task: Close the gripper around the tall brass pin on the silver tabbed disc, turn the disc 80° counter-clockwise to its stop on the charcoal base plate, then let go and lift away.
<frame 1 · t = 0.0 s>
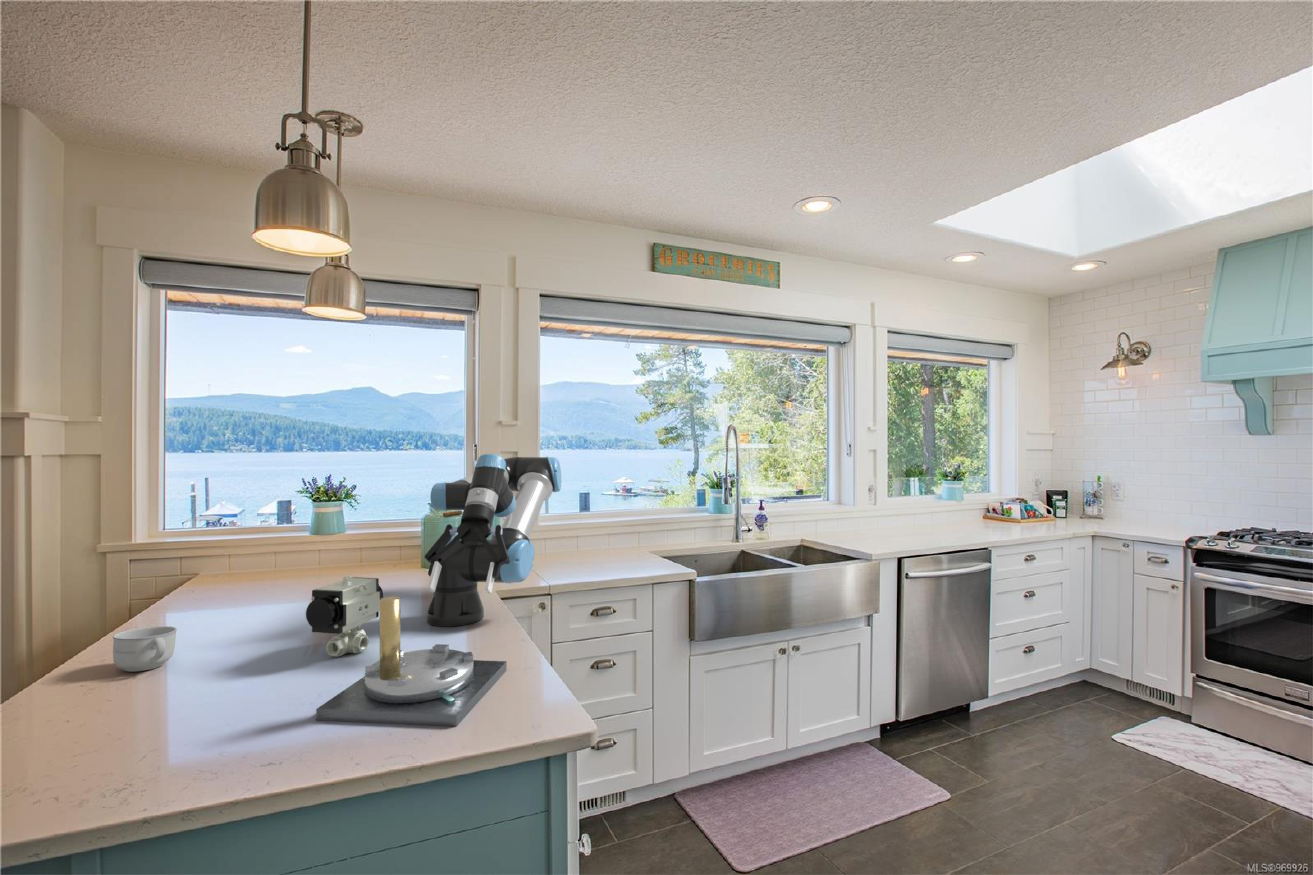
hand: (459, 590, 142), 15 cm above the counter, tool tilted 35°, fingers open, 13 cm apart
base plate: (420, 692, 122), on the counter
silver tabbed disc: (420, 636, 122), point 11 cm above the counter, hinge at 0.0°
teacup: (146, 669, 135), on the counter
ball valve: (349, 652, 145), on the counter
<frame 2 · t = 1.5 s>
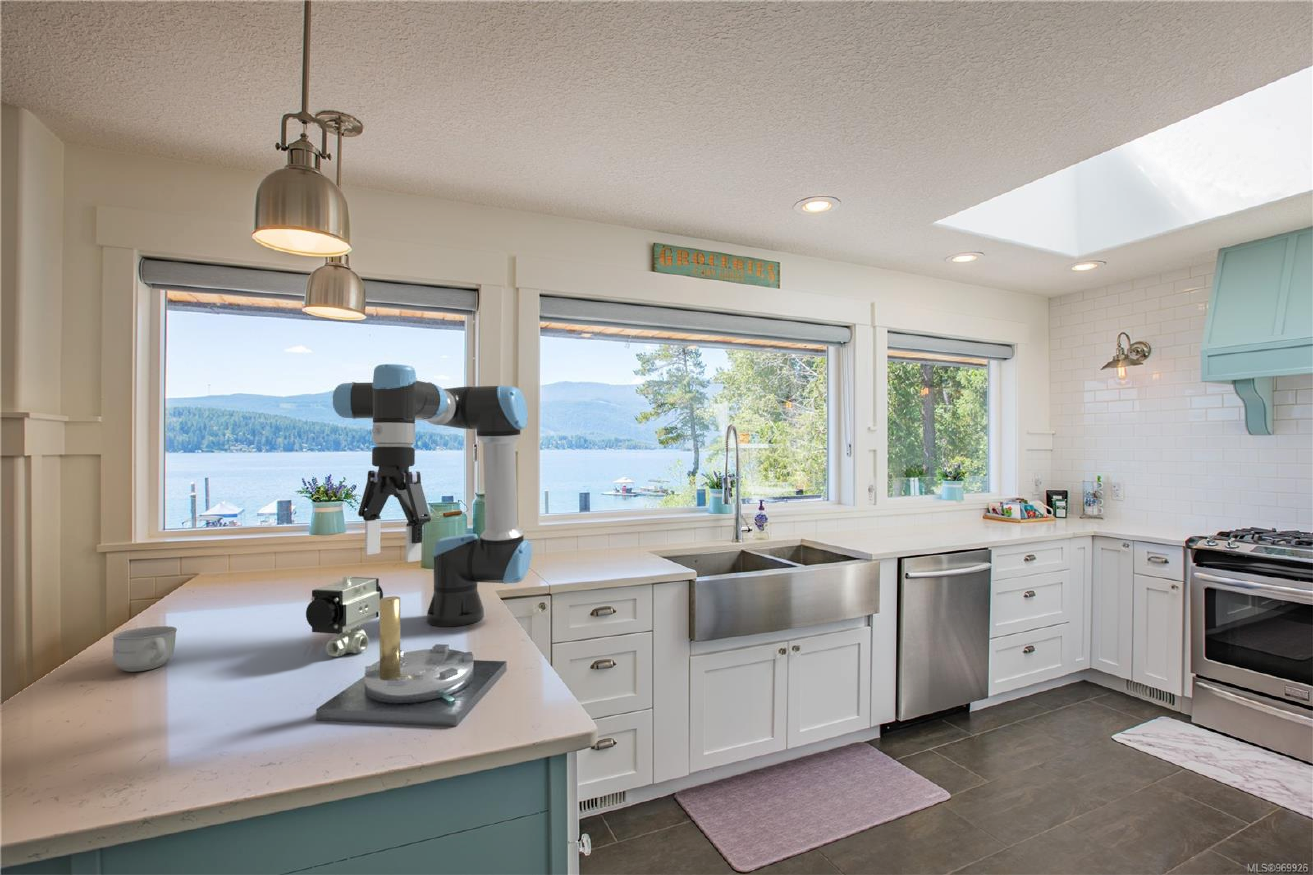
hand: (392, 557, 117), 28 cm above the counter, tool pointing down, fingers open, 13 cm apart
nothing on the counter moved.
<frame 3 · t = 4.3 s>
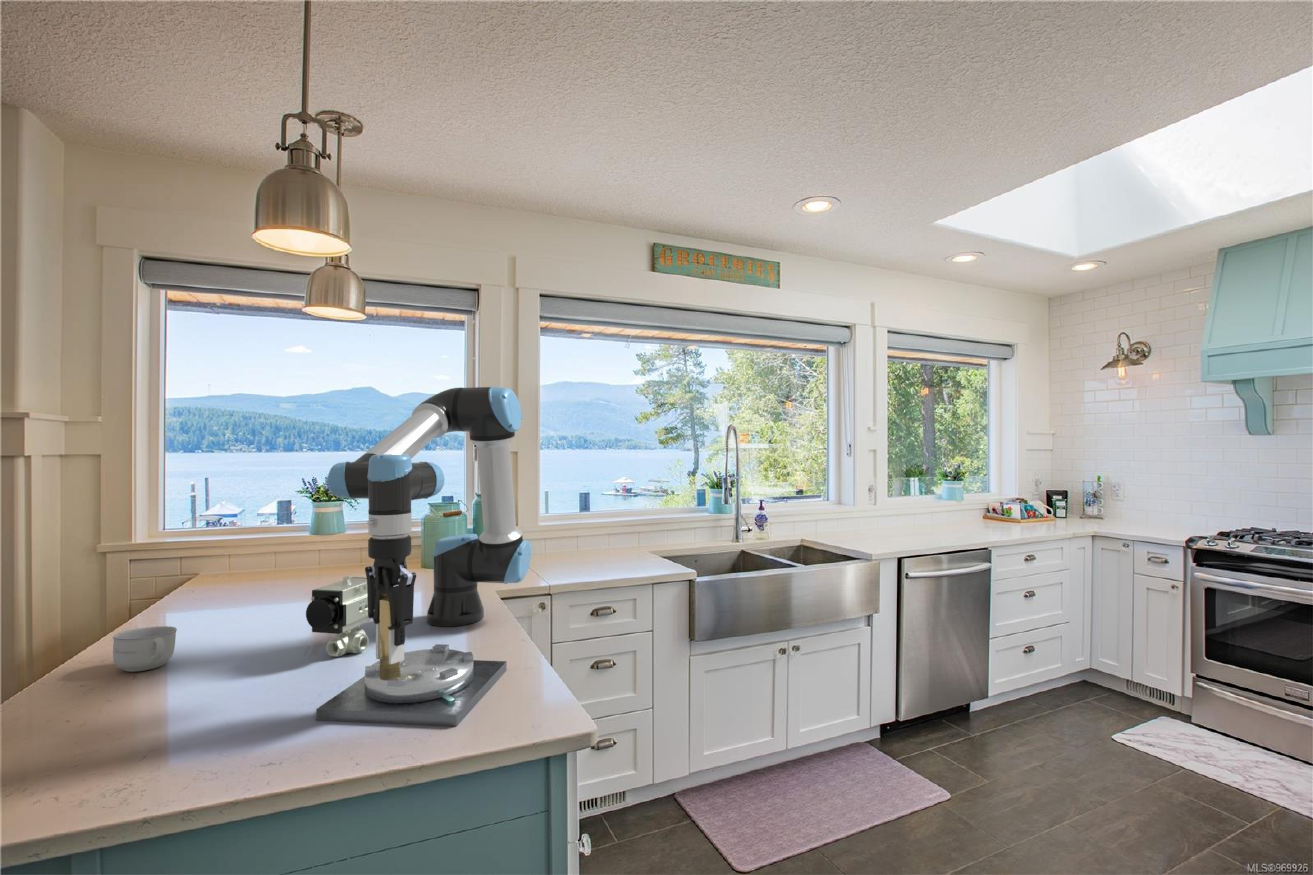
hand: (390, 659, 116), 9 cm above the counter, tool pointing down, fingers closed on silver tabbed disc, 4 cm apart
silver tabbed disc: (420, 636, 122), point 11 cm above the counter, hinge at 0.0°, touching gripper
everything else where it was.
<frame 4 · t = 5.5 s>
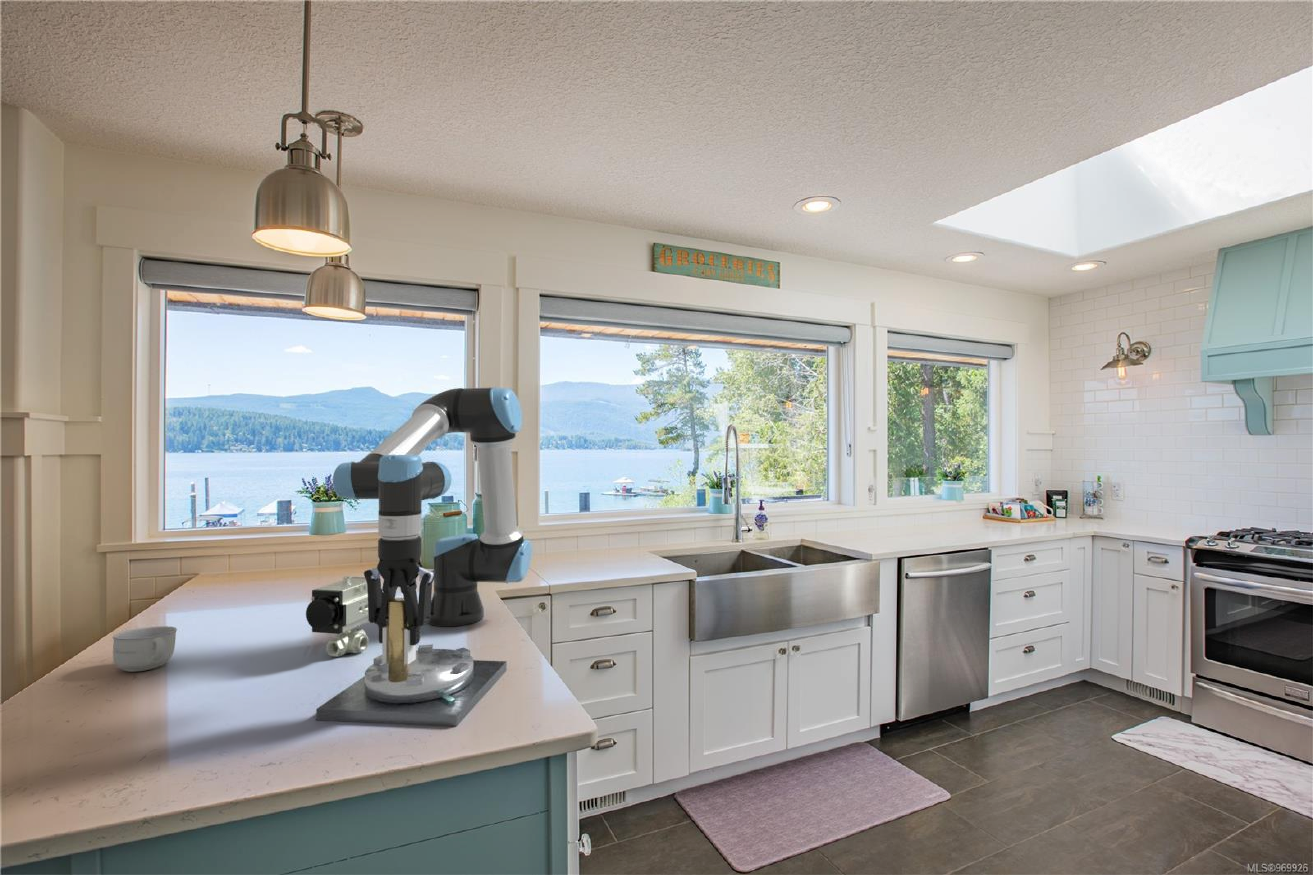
hand: (399, 660, 116), 9 cm above the counter, tool pointing down, fingers closed on silver tabbed disc, 4 cm apart
silver tabbed disc: (420, 636, 122), point 11 cm above the counter, hinge at 20.1°, touching gripper
everything else where it was.
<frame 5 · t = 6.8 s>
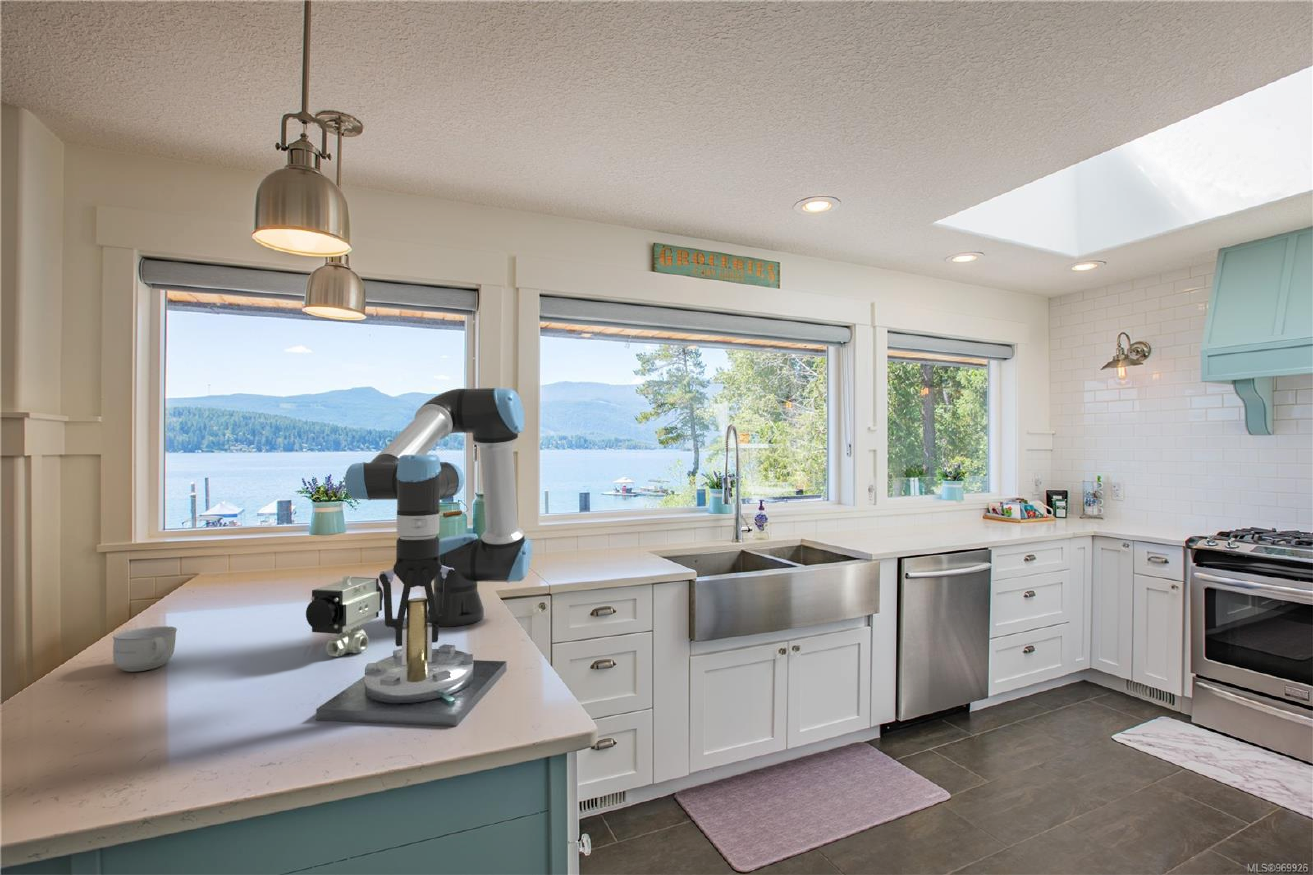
hand: (416, 660, 116), 9 cm above the counter, tool pointing down, fingers closed on silver tabbed disc, 4 cm apart
silver tabbed disc: (420, 636, 122), point 11 cm above the counter, hinge at 50.7°, touching gripper
everything else where it was.
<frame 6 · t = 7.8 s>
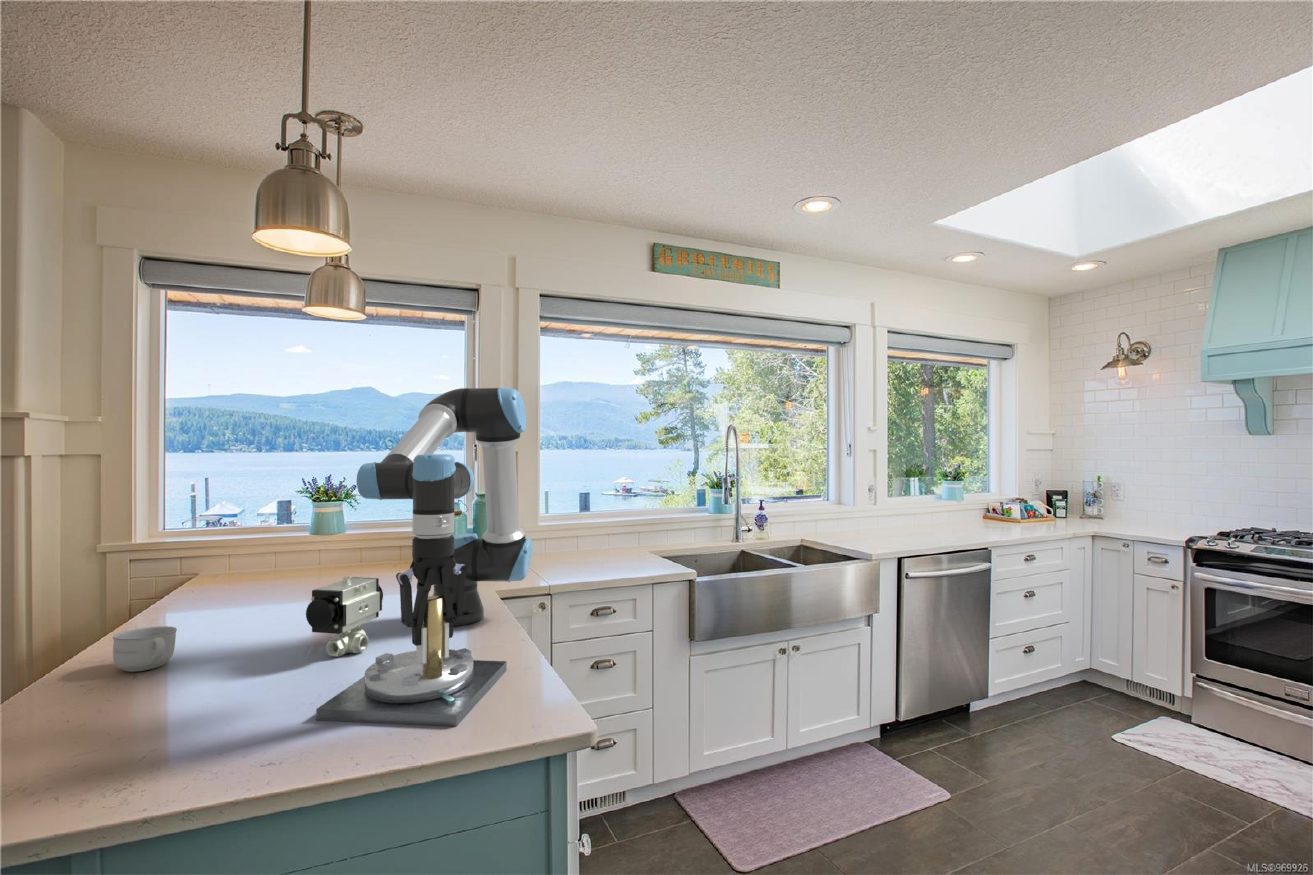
hand: (432, 658, 117), 9 cm above the counter, tool pointing down, fingers closed on silver tabbed disc, 4 cm apart
silver tabbed disc: (420, 636, 122), point 11 cm above the counter, hinge at 76.0°, touching gripper
everything else where it was.
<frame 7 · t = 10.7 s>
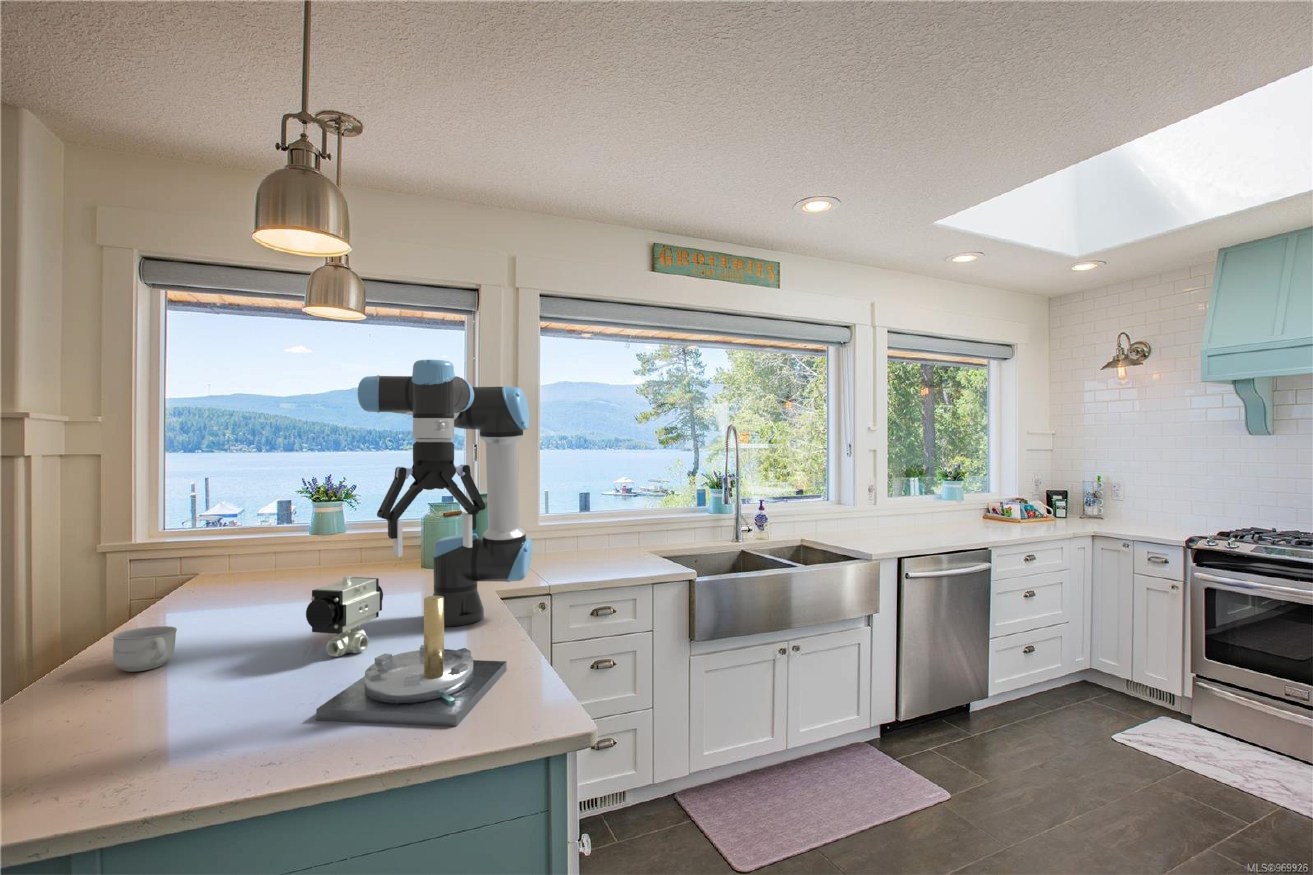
hand: (434, 551, 118), 29 cm above the counter, tool pointing down, fingers open, 13 cm apart
silver tabbed disc: (420, 636, 122), point 11 cm above the counter, hinge at 77.7°
everything else where it was.
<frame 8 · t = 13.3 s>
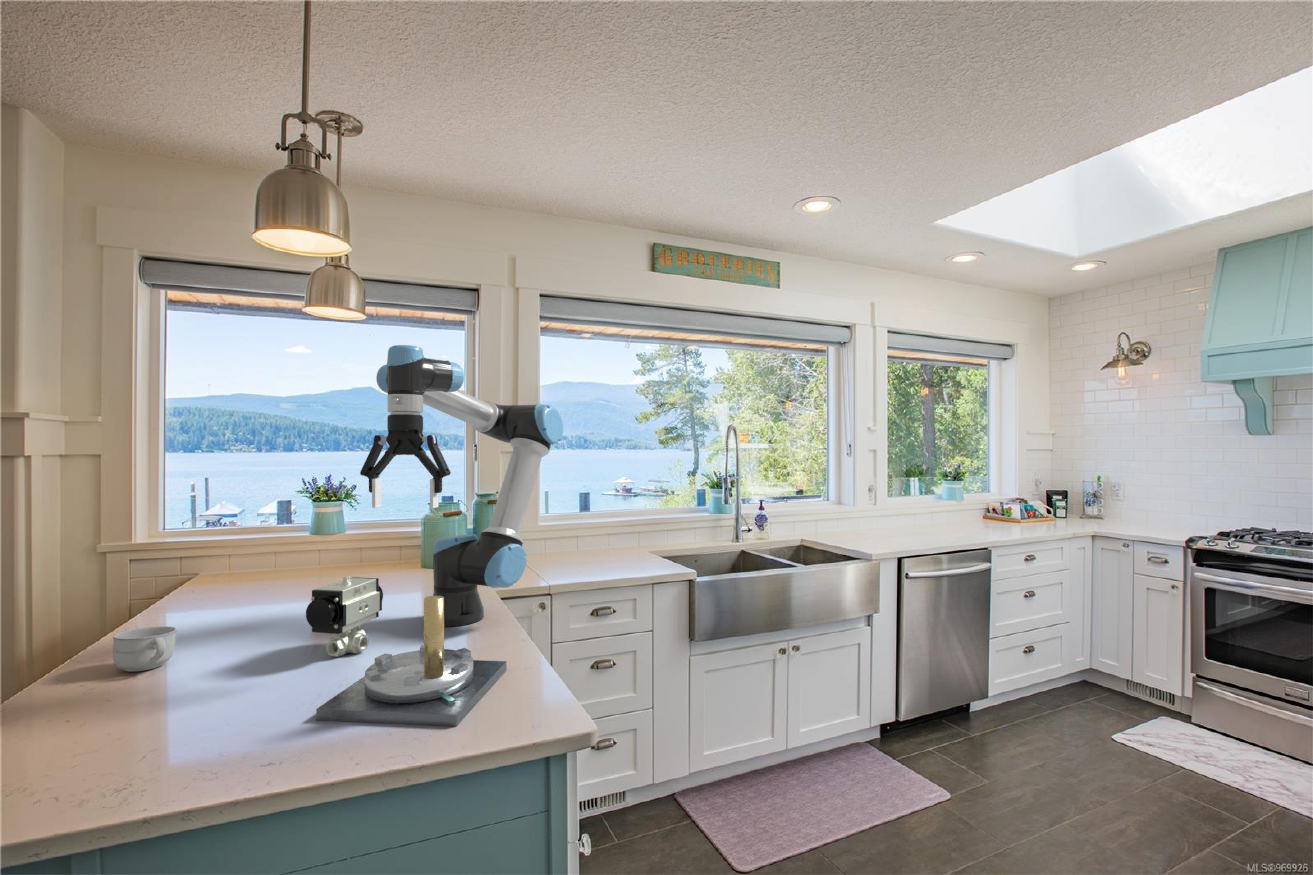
hand: (405, 507, 140), 35 cm above the counter, tool pointing down, fingers open, 13 cm apart
nothing on the counter moved.
at the end: silver tabbed disc at +78° (first picture: +0°); ball valve moved 0.2 cm from its start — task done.
